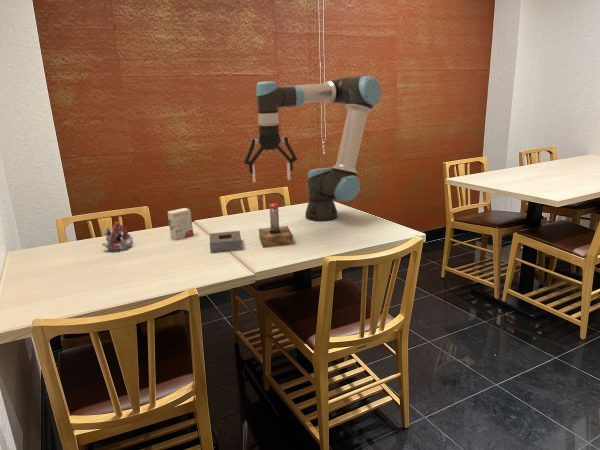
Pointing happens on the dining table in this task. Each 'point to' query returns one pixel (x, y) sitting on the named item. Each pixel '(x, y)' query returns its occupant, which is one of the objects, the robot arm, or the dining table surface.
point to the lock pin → (274, 218)
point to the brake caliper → (117, 238)
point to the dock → (225, 241)
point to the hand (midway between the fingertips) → (271, 180)
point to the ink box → (180, 223)
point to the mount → (275, 237)
